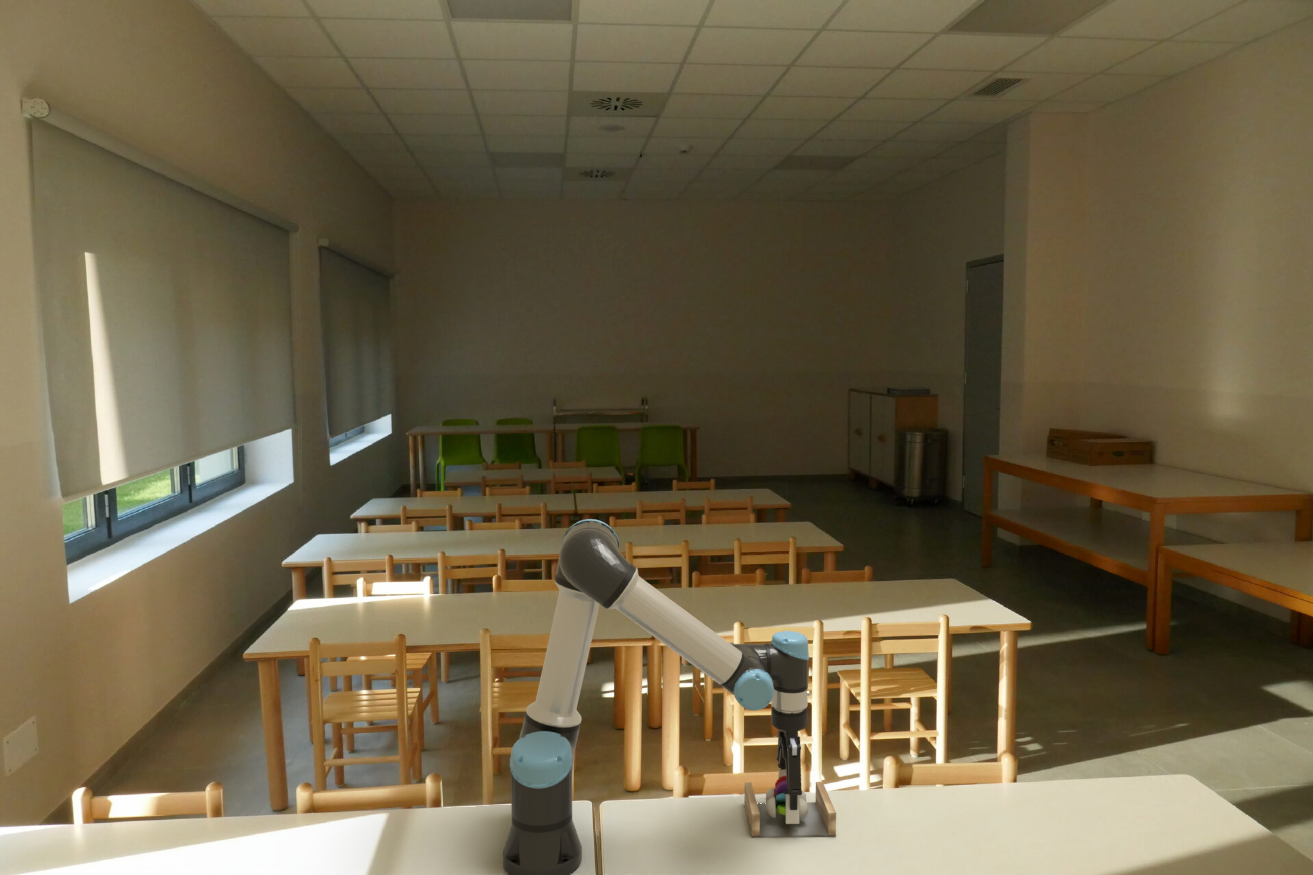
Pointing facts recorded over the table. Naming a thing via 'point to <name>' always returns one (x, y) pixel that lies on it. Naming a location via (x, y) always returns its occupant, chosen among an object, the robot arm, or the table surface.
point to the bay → (762, 825)
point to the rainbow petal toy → (783, 799)
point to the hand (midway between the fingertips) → (788, 810)
